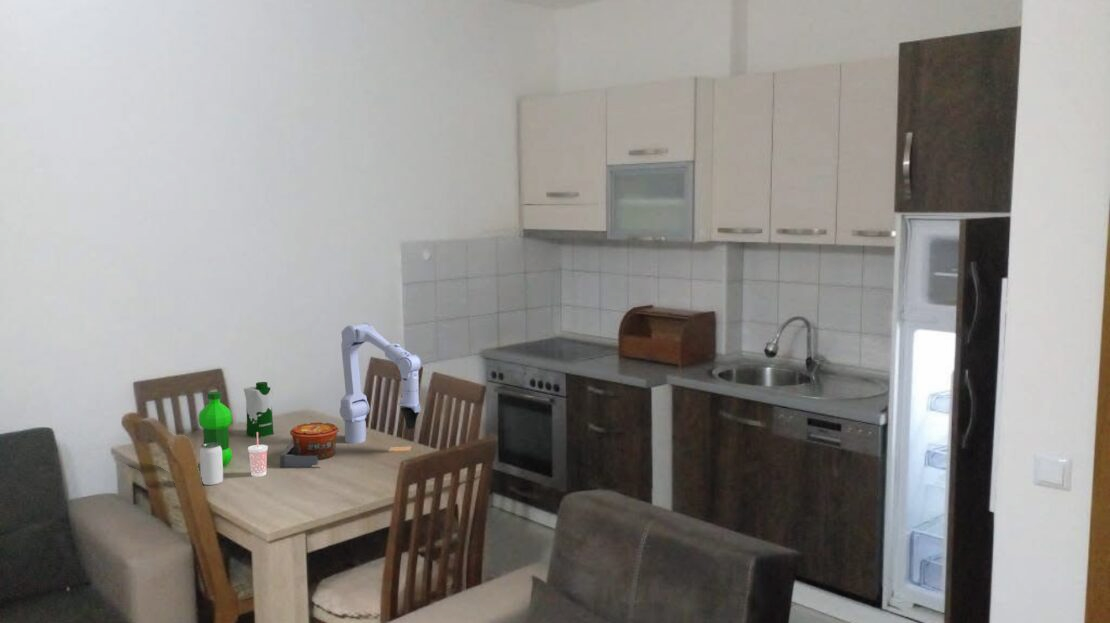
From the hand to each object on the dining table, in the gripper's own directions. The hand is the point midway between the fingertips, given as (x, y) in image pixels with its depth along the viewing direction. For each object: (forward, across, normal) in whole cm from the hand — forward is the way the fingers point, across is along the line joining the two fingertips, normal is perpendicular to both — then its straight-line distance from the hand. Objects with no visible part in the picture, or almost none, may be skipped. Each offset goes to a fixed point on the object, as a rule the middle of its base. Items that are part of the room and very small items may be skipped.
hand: (410, 428), depth 304 cm
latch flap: (+9, -5, -3) cm, 11 cm away
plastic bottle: (+10, -16, -61) cm, 64 cm away
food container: (+10, -11, -30) cm, 34 cm away
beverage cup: (+10, -2, -51) cm, 52 cm away
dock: (+9, -13, -33) cm, 36 cm away
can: (+10, 0, -65) cm, 66 cm away
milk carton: (+10, -51, -41) cm, 66 cm away
